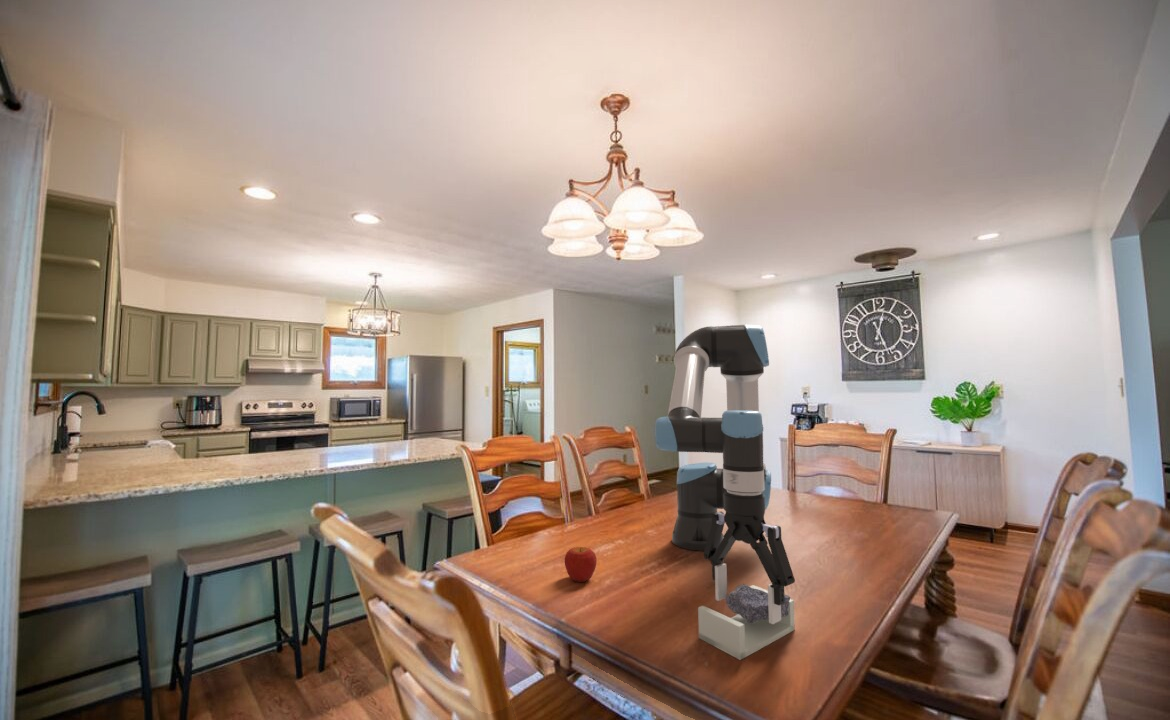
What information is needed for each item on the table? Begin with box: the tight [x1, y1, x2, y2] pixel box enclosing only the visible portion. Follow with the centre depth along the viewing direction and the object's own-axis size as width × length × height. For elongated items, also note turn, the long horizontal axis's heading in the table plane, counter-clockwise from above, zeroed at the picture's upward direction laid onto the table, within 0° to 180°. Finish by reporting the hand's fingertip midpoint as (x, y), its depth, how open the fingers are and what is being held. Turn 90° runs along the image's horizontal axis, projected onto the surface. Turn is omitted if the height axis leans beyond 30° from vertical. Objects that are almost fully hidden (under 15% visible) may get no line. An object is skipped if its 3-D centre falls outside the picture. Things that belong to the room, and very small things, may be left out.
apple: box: [564, 546, 598, 583], centre depth 116 cm, size 8×8×8 cm
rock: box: [725, 583, 791, 623], centre depth 91 cm, size 12×5×10 cm
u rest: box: [697, 584, 796, 661], centre depth 90 cm, size 9×17×6 cm, turn 126°
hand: (746, 609), depth 90 cm, fingers closed on rock, 11 cm apart
